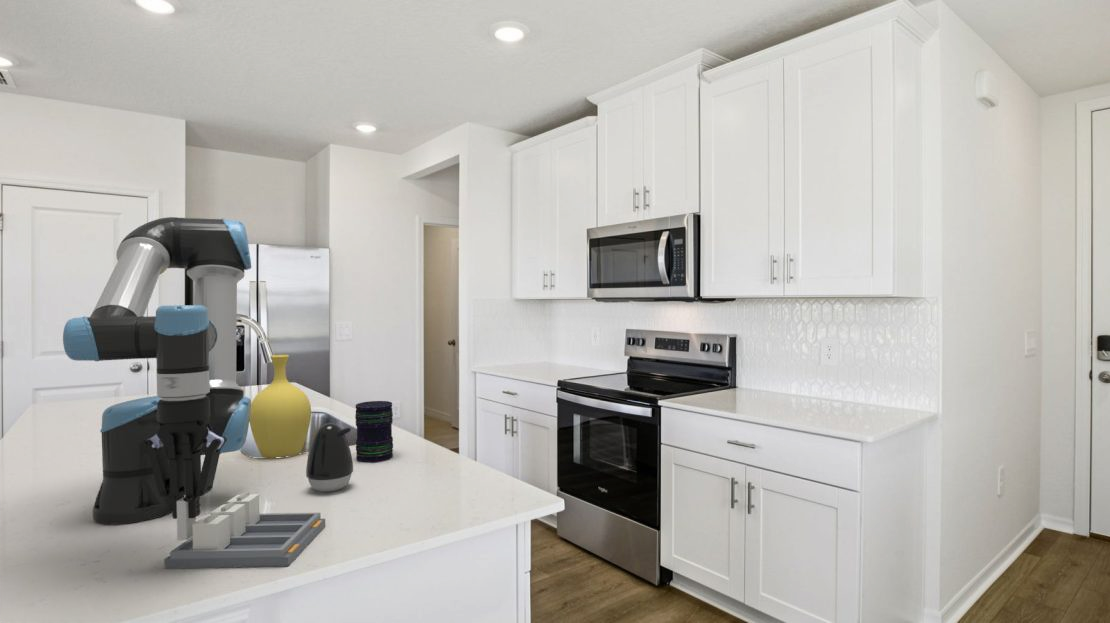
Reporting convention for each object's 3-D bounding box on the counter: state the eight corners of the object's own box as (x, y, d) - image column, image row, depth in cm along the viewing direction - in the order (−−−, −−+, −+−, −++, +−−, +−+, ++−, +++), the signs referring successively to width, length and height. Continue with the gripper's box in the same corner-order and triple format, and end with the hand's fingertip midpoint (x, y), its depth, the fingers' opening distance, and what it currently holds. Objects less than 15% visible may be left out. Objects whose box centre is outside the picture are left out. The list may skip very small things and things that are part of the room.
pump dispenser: (338, 497, 131) (337, 429, 131) (296, 494, 133) (295, 427, 133) (362, 483, 141) (361, 419, 141) (323, 480, 143) (322, 418, 143)
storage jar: (401, 456, 165) (400, 402, 164) (372, 464, 157) (372, 408, 156) (376, 451, 170) (375, 399, 170) (348, 459, 162) (347, 405, 162)
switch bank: (164, 568, 97) (164, 552, 97) (220, 528, 114) (220, 514, 114) (288, 566, 97) (287, 549, 97) (325, 526, 114) (325, 512, 114)
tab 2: (211, 540, 104) (210, 509, 103) (223, 531, 108) (222, 501, 107) (234, 540, 104) (233, 508, 103) (245, 531, 108) (245, 500, 107)
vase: (268, 446, 177) (266, 352, 176) (321, 446, 176) (319, 352, 176) (237, 461, 161) (235, 358, 160) (296, 461, 160) (294, 358, 160)
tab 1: (193, 554, 98) (192, 520, 98) (206, 544, 102) (205, 511, 102) (217, 553, 98) (216, 520, 98) (230, 543, 102) (229, 511, 102)
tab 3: (227, 528, 109) (226, 498, 109) (238, 520, 113) (237, 491, 113) (249, 528, 109) (248, 498, 109) (259, 520, 113) (259, 491, 113)
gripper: (128, 401, 95) (132, 546, 96) (210, 400, 96) (213, 545, 96) (159, 393, 103) (162, 528, 103) (234, 393, 103) (237, 527, 104)
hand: (186, 536), depth 100 cm, fingers closed
